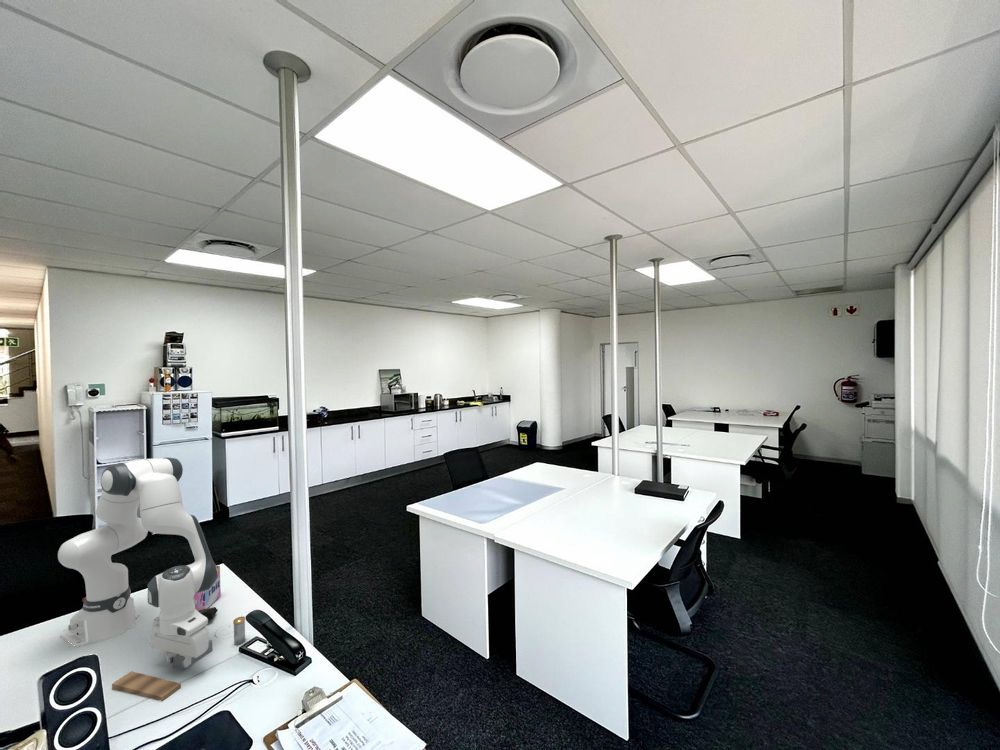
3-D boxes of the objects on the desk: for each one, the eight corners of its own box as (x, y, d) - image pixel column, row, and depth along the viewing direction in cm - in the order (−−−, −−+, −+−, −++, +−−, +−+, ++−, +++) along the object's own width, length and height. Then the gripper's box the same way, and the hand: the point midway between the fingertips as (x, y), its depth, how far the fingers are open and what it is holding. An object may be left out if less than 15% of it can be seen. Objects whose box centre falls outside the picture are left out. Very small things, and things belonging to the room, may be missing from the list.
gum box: (187, 629, 146) (186, 595, 145) (165, 631, 145) (164, 597, 144) (221, 594, 168) (220, 565, 167) (202, 596, 167) (201, 566, 166)
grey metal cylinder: (231, 646, 136) (230, 621, 136) (240, 639, 139) (239, 615, 139) (239, 648, 135) (238, 623, 135) (248, 641, 138) (247, 617, 138)
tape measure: (211, 621, 148) (211, 610, 148) (189, 626, 145) (189, 615, 146) (217, 615, 154) (217, 605, 155) (196, 620, 151) (196, 610, 152)
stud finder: (173, 669, 126) (172, 656, 126) (201, 649, 135) (200, 637, 134) (185, 672, 125) (184, 659, 124) (212, 652, 133) (212, 639, 133)
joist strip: (112, 691, 117) (111, 683, 117) (131, 678, 122) (131, 671, 122) (162, 705, 112) (162, 697, 112) (180, 691, 117) (180, 683, 117)
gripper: (142, 622, 125) (143, 665, 125) (192, 632, 119) (193, 677, 120) (163, 610, 131) (165, 651, 131) (212, 619, 125) (213, 662, 126)
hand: (179, 663), depth 125 cm, fingers closed on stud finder, 5 cm apart
